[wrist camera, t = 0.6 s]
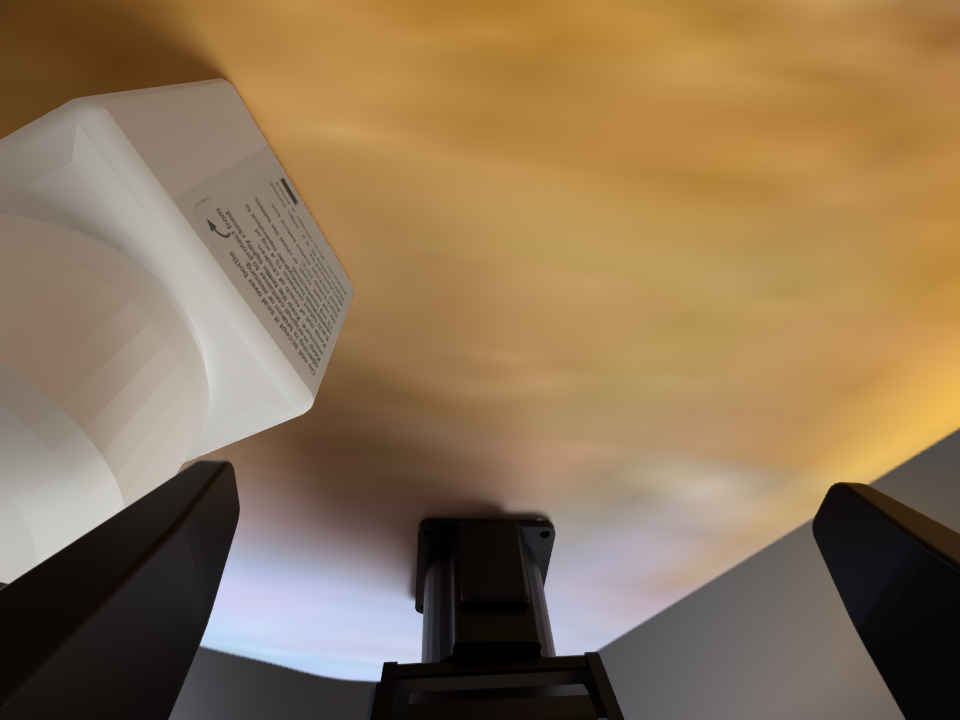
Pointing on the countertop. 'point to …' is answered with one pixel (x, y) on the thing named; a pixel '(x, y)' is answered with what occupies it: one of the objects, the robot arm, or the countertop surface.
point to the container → (146, 303)
